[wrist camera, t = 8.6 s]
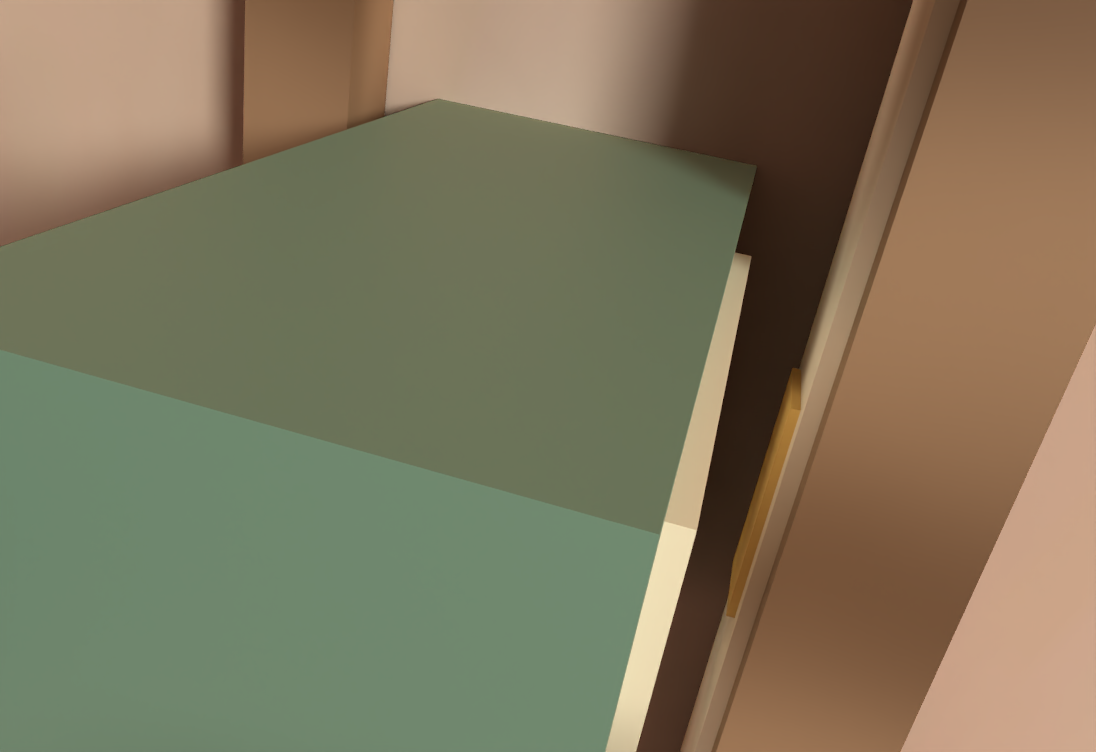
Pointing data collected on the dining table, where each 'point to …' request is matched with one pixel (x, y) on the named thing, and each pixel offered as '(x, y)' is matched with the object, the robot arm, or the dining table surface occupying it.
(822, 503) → the shelf slot
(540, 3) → the dining table surface
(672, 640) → the dining table surface
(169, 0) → the dining table surface
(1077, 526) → the dining table surface
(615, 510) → the tea box
